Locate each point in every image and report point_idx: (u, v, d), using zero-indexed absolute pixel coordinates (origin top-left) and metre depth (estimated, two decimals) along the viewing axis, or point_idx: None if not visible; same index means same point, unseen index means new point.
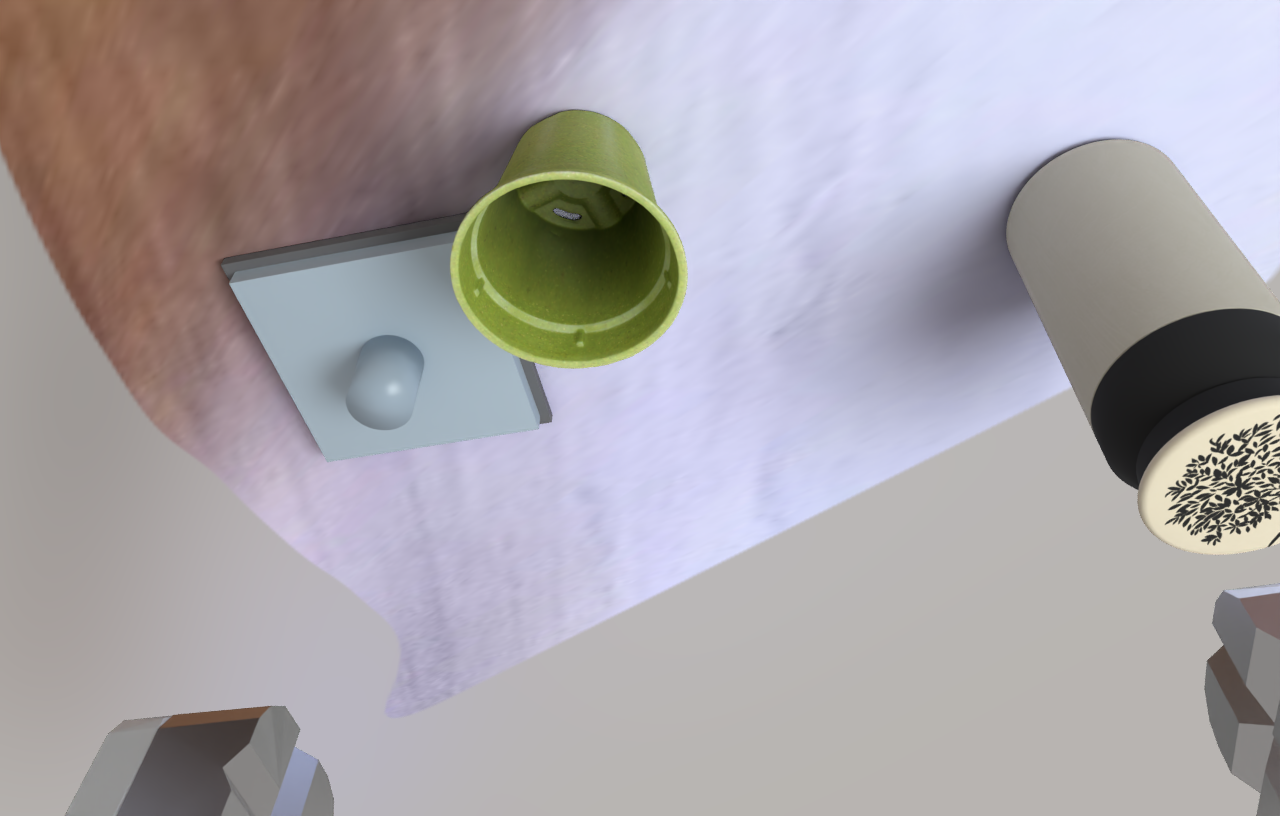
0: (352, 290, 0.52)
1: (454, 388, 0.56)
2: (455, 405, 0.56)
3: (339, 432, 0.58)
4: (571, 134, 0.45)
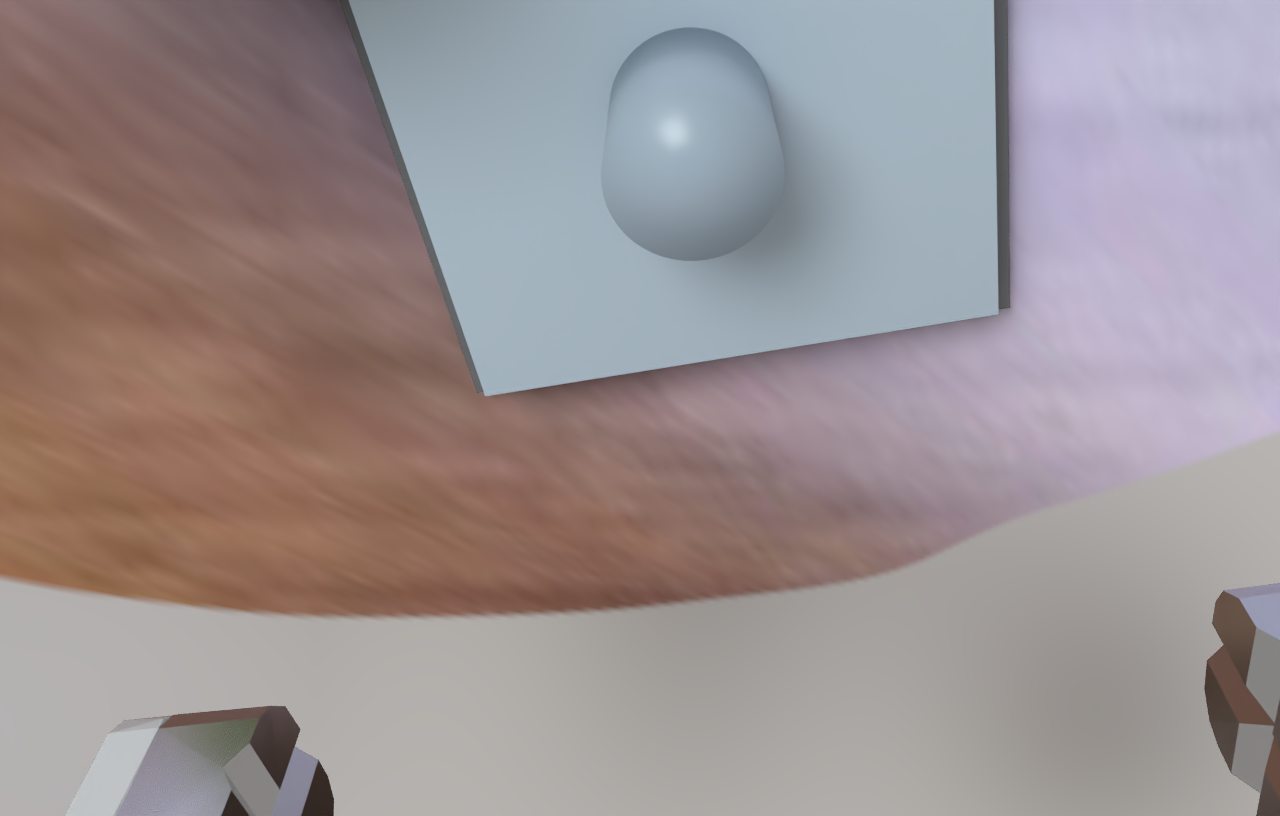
0: (481, 166, 0.22)
1: None
2: None
3: (908, 270, 0.24)
4: None
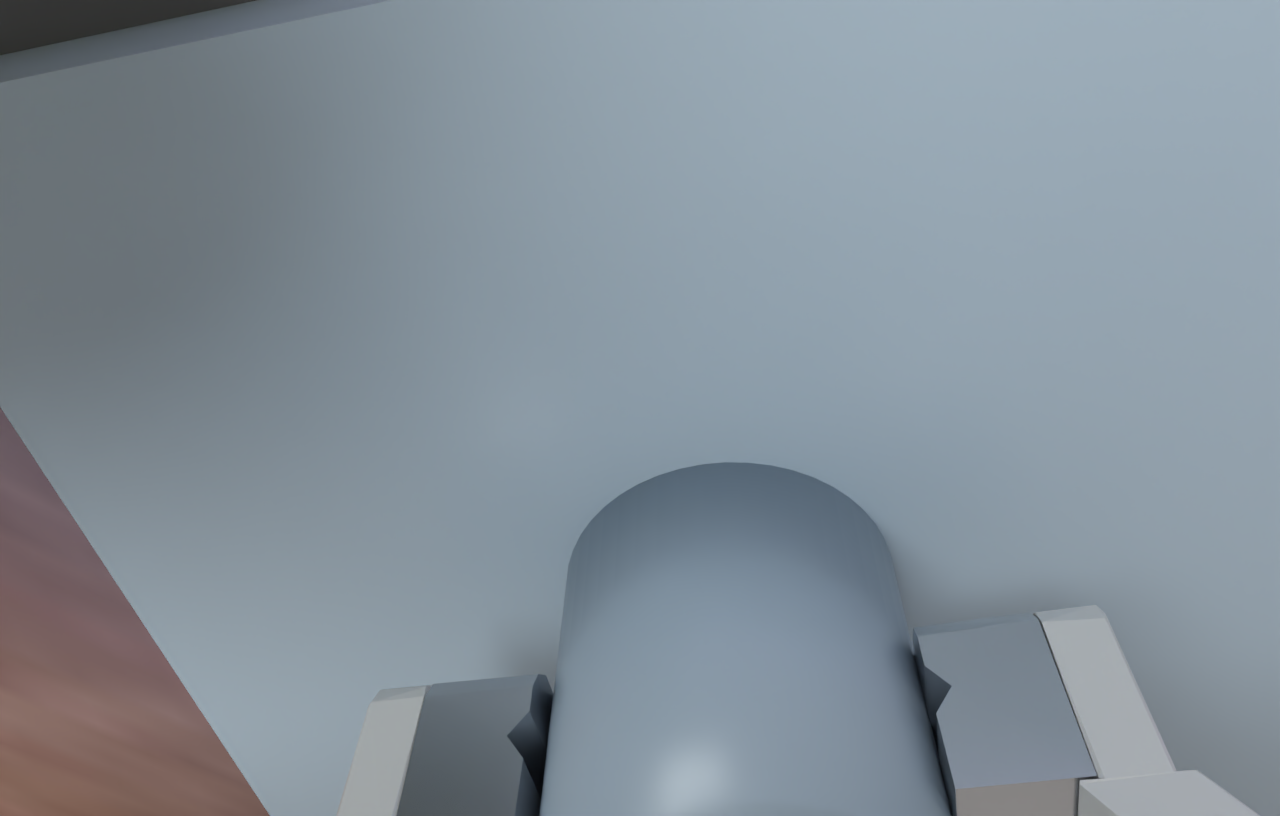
0: (317, 667, 0.11)
1: (971, 338, 0.09)
2: (1109, 350, 0.09)
3: None
4: None
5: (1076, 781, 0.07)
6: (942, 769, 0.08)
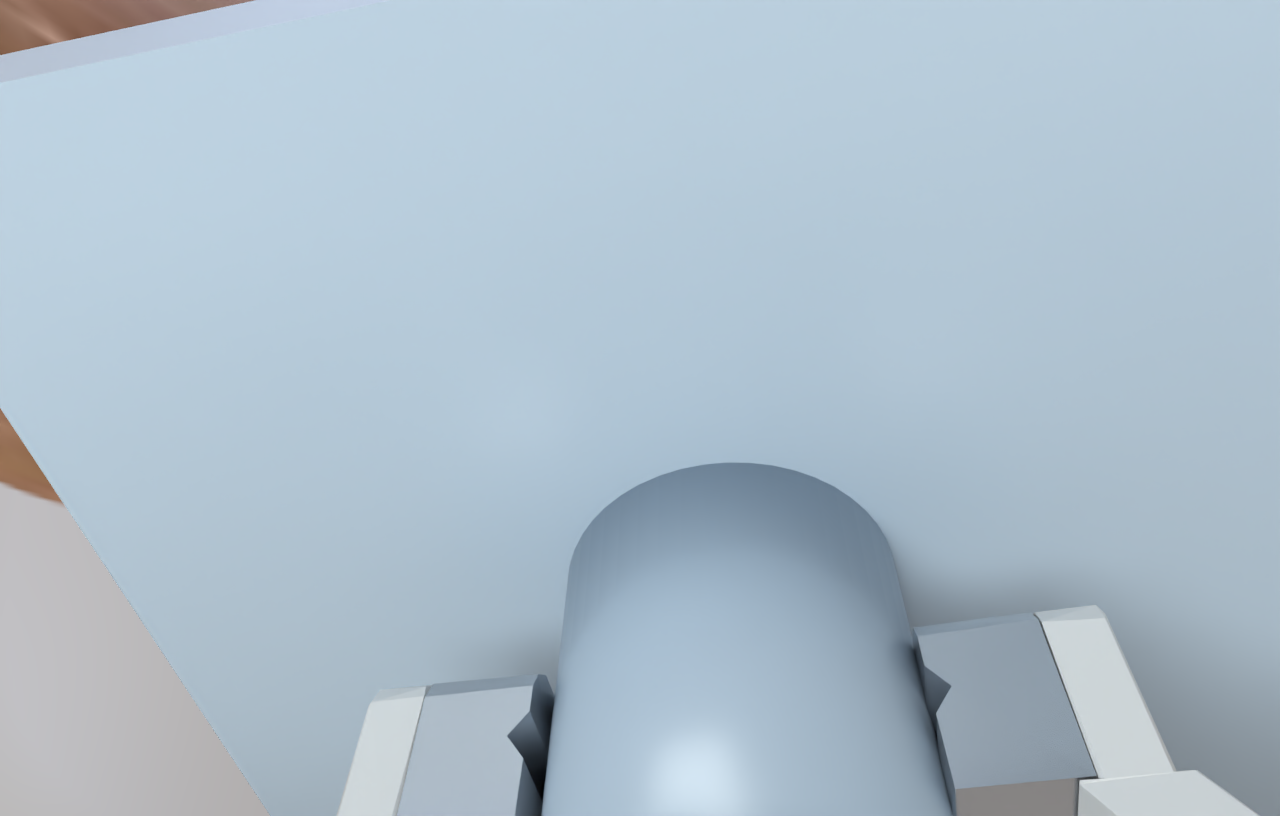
0: (319, 668, 0.11)
1: (973, 338, 0.09)
2: (1112, 350, 0.09)
3: None
4: None
5: (1076, 781, 0.07)
6: (942, 769, 0.08)
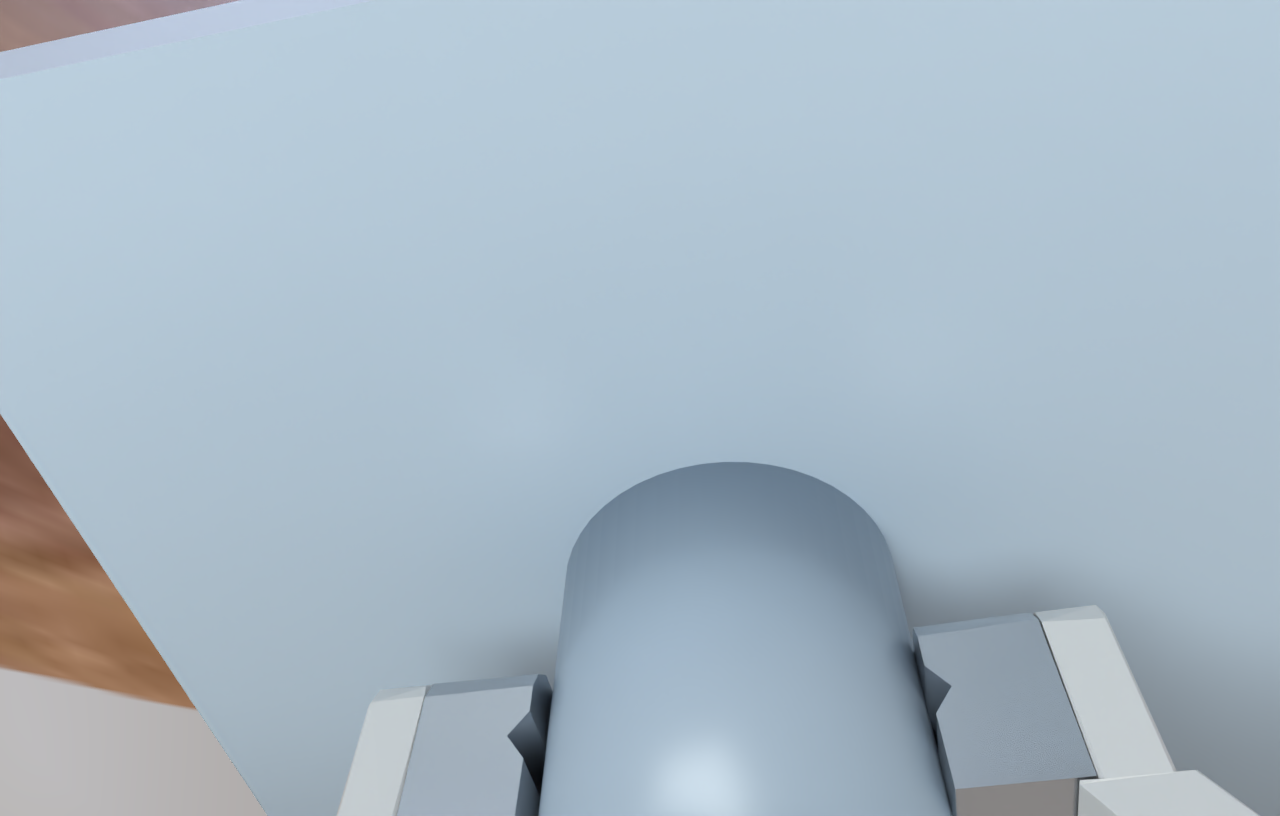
0: (316, 667, 0.11)
1: (972, 338, 0.09)
2: (1111, 349, 0.09)
3: None
4: None
5: (1076, 781, 0.07)
6: (942, 769, 0.08)
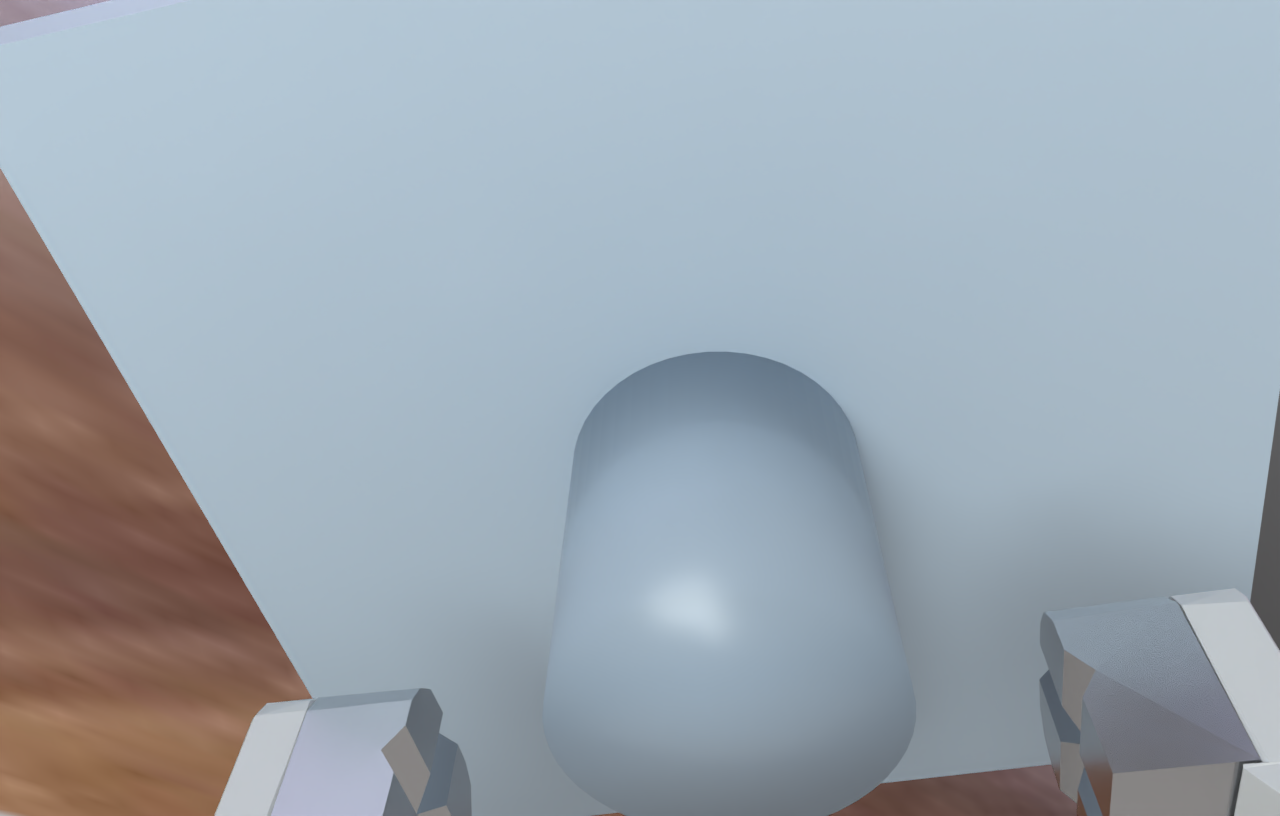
0: (356, 552, 0.13)
1: (914, 236, 0.10)
2: (1033, 243, 0.10)
3: None
4: None
5: (1238, 765, 0.07)
6: (1086, 754, 0.08)
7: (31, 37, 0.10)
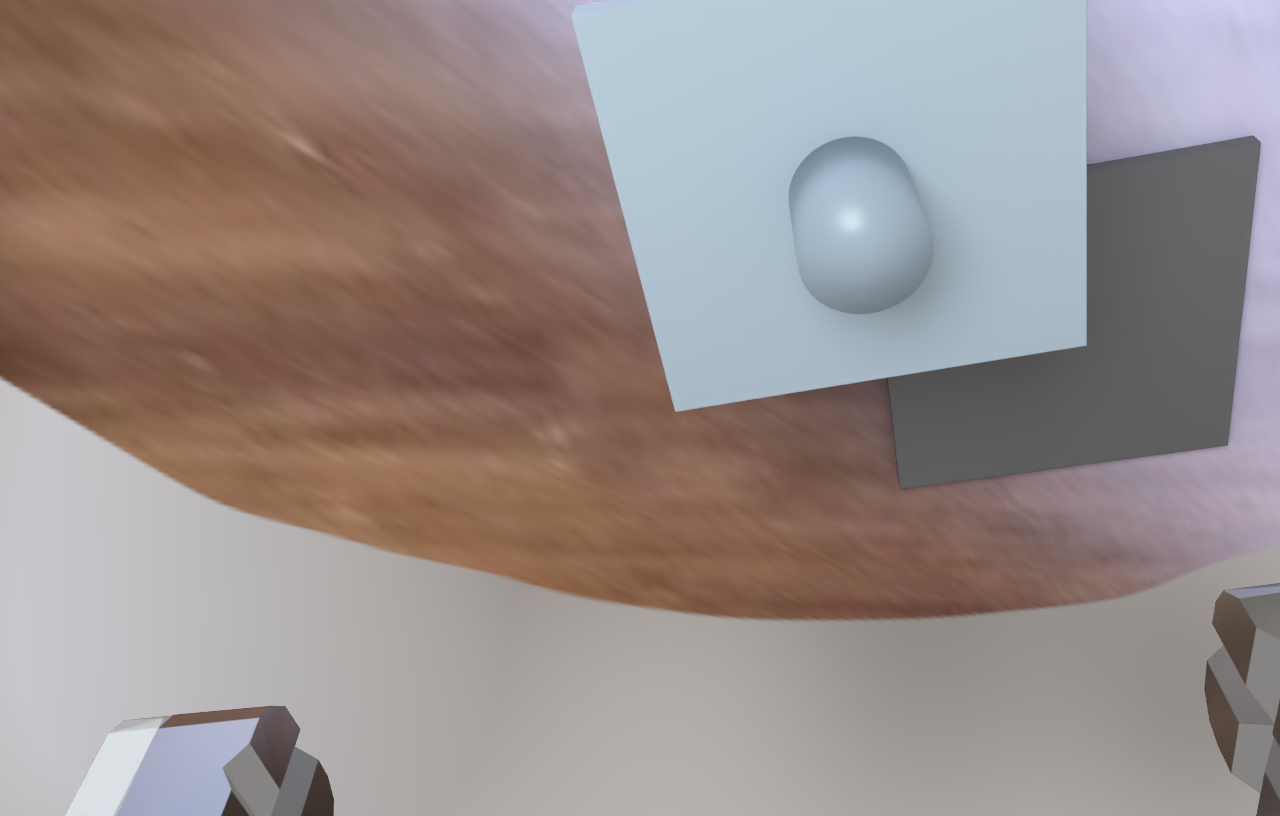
0: (687, 238, 0.30)
1: (934, 84, 0.27)
2: (981, 87, 0.27)
3: (1015, 312, 0.30)
4: None
5: None
6: None
7: (608, 8, 0.26)
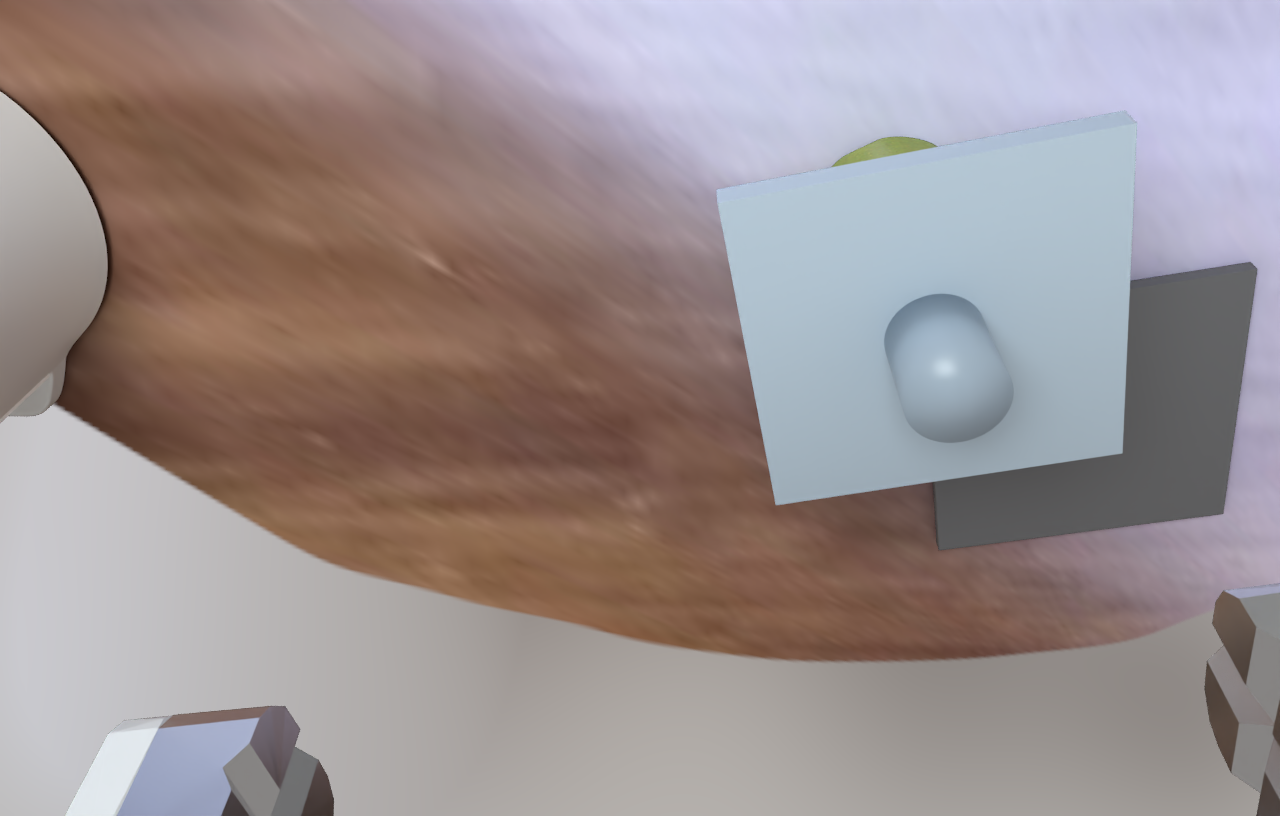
0: (798, 370, 0.36)
1: (1009, 255, 0.33)
2: (1047, 258, 0.33)
3: (1065, 428, 0.37)
4: None
5: None
6: None
7: (748, 197, 0.32)
